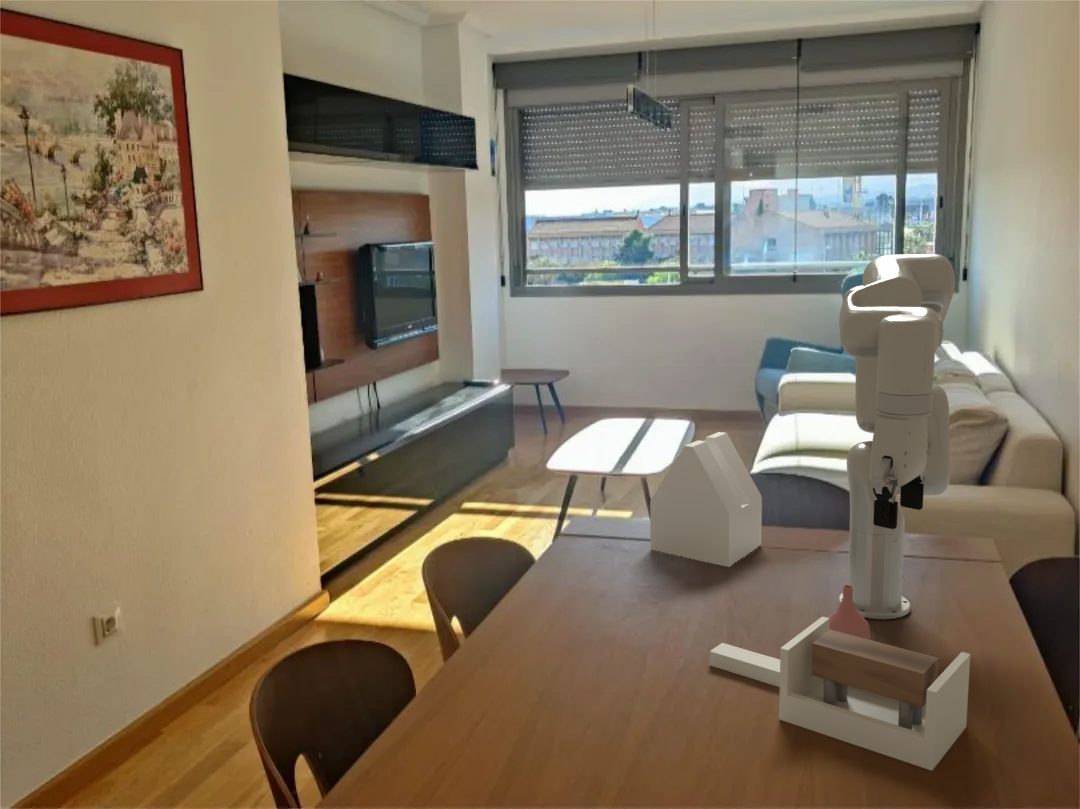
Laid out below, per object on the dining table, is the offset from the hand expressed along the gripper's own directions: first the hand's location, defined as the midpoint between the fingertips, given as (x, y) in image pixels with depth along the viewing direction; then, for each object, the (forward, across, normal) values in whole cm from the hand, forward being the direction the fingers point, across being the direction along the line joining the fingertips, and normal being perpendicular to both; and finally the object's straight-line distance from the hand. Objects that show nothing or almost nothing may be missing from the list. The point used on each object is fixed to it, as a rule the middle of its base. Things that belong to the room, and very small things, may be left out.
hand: (898, 517), depth 141 cm
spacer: (+29, +6, -20) cm, 36 cm away
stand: (+29, +9, +1) cm, 30 cm away
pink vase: (+30, -10, -11) cm, 33 cm away
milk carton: (+32, -41, -58) cm, 78 cm away
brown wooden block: (+22, +9, +1) cm, 24 cm away
